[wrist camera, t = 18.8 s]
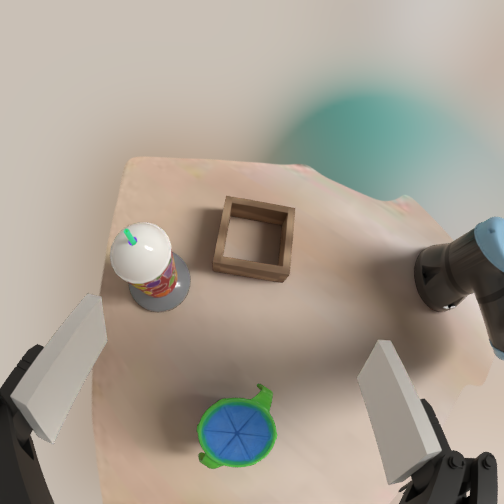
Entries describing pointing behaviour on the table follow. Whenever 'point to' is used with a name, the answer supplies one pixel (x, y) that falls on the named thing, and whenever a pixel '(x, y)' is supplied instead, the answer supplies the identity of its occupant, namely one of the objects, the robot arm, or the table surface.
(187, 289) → the slate coaster
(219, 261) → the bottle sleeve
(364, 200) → the table surface
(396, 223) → the table surface
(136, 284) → the smoothie
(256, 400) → the snack cup
